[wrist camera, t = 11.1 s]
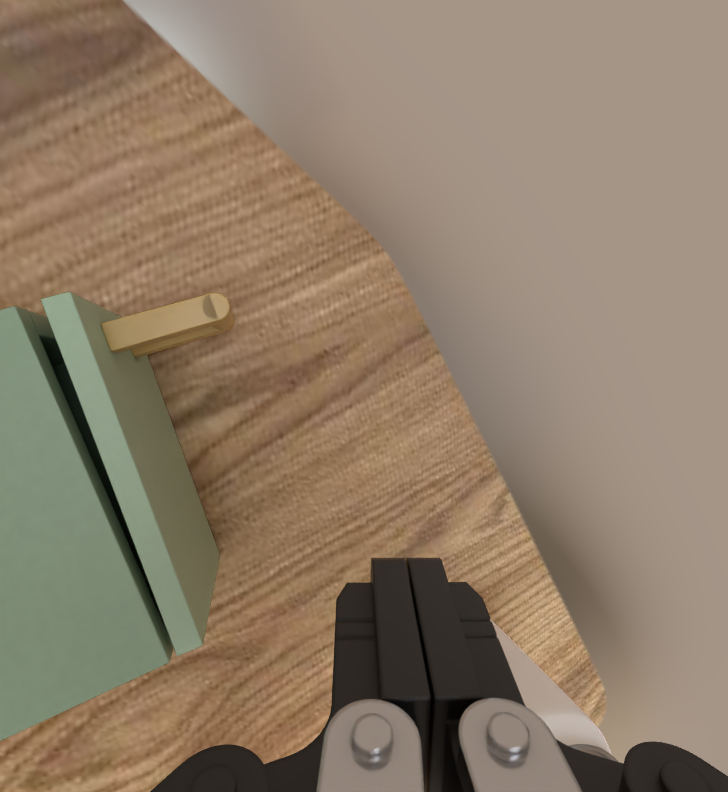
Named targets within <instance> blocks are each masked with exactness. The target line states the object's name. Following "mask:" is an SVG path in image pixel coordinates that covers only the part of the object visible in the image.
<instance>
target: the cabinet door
mask: <svg viewBox="0 0 728 792" xmlns="http://www.w3.org/2000/svg"><path fill="white" fill-rule="evenodd" d="M41 302H42V304H43V307H44V310H45V312H46V315H47V317H48V320H49V323H50V325H51V328H52V330H53V333H54V336H55V338H56V341H57V344H58V346H59V349H60V351H61V354H62V357H63V359H64V362H65V364H66V367H67V370H68V372H69V375H70V378H71V380H72V383H73V385H74V388H75V391H76V393H77V396H78V398H79V401H80V404H81V406H82V409H83V412H84V414H85V417H86V419H87V422H88V425H89V427H90V430H91V432H92V435H93V438H94V440H95V443H96V445H97V448H98V451H99V453H100V456H101V459H102V461H103V464H104V466H105V469H106V472H107V474H108V477H109V479H110V482H111V485H112V487H113V490H114V493H115V495H116V498H117V500H118V503H119V506H120V508H121V511H122V513H123V516H124V519H125V521H126V524H127V527H128V529H129V532H130V534H131V537H132V540H133V542H134V545H135V547H136V550H137V553H138V555H139V558H140V560H141V563H142V566H143V568H144V571H145V574H146V576H147V579H148V581H149V584H150V587H151V589H152V592H153V594H154V597H155V600H156V602H157V605H158V608H159V610H160V613H161V615H162V618H163V621H164V623H165V626H166V628H167V631H168V634H169V636H170V639H171V642H172V644H173V647H174V649H175V652H176V655H177V656H179V655H182V654H184V653H186V652H189V651H191V650H193V649H196V648H198V647H200V646H202V645H203V641H204V636H205V631H206V626H207V621H208V616H209V610H210V605H211V600H212V595H213V590H214V585H215V580H216V574H217V569H218V564H219V559H220V553H219V551H218V548H217V545H216V542H215V540H214V537H213V534H212V532H211V529H210V526H209V523H208V521H207V518H206V515H205V512H204V510H203V507H202V504H201V501H200V499H199V496H198V493H197V490H196V488H195V485H194V482H193V479H192V477H191V474H190V471H189V468H188V466H187V463H186V460H185V457H184V455H183V452H182V449H181V446H180V444H179V441H178V438H177V435H176V433H175V430H174V427H173V424H172V422H171V419H170V416H169V413H168V411H167V408H166V405H165V402H164V400H163V397H162V394H161V391H160V389H159V386H158V383H157V380H156V378H155V375H154V372H153V369H152V367H151V364H150V361H149V358H148V356H147V355H149V354H152V353H156V352H159V351H163V350H166V349H169V348H173V347H176V346H180V345H183V344H186V343H190V342H193V341H197V340H200V339H203V338H207V337H210V336H213V335H217V334H220V333H224V332H227V331H229V330H231V329H232V327H233V326H234V322H235V320H234V316H233V313H232V310H231V307H230V303H229V301H228V299H227V298H226V297H225V296H224V295H222V294H220V293H216V292H214V293H209V294H205V295H201V296H198V297H194V298H191V299H187V300H183V301H180V302H176V303H172V304H169V305H165V306H162V307H158V308H154V309H151V310H147V311H144V312H140V313H136V314H133V315H129V316H126V317H121V316H119V315H117V314H115V313H113V312H111V311H109V310H107V309H105V308H103V307H100V306H98V305H96V304H94V303H92V302H90V301H88V300H86V299H84V298H82V297H80V296H78V295H76V294H73V293H71V292H66V293H62V294H58V295H55V296H51V297H47V298H43V299H41Z"/></svg>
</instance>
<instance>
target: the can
mask: <svg viewBox="0 0 728 792" xmlns="http://www.w3.org/2000/svg"><path fill="white" fill-rule="evenodd" d="M490 621H492V620H491V619H490ZM492 624H493V626H494V629H495V631H496V634H497V638H498V639H499V641H500V644H501V646H502V649H503V651H504V654H505V656H506V659H507V661H508V664H509V666H510V669H511V671H512V674H513V676H514V679H515V681H516V684H517V686H518V689H519V691H520V694H521V696H522V699H523V701H524V704H525V706H526V707H527V708H528V709H530V710H531V711H533V712H534V713H535V714H537V715H538V716H539V717H540V718H541V719H542V720H543V721H544V722H545V723H546V725H547V726H548V727H549V729H550V730H551V732H552V733H553V735H554V737H555V739H557V740H559V741H560V742H562V743H563V744H565V745H568V746H570V747H572V748H574V749H577V750H580V751H582V752H586V753H589V754H592V755H596V756H599V757H603V758H606V759H609V760H613V761H616V762H618V761H617V760H616V759H615V758H614V757H613V756H612V754H611V751H610V748H609V746H608V744H607V742H606V740H605V738H604V736H603V734H602V733H601V731H600V730H599V729H598V728H597V726H596V725H595V724H594V723H593V722H592V721H591V720H590V719H589V717H588V716H587V715H586V714H585V713H584V712H583V711H582V710H581V709H580V708H579V707H578V706H577V705H576V704H575V703H574V702H573V701H572V700H571V699H570V698H569V697H568V696H567V695H566V694H565V693H564V692H563V691H562V690H561V689H560V688H559V687H558V686H557V685H556V684H555V683H554V682H553V681H552V680H551V679H550V678H549V677H548V676H547V675H546V674H545V673H544V672H543V671H542V670H541V669H540V668H539V667H538V666H537V665H536V664H535V663H534V662H533V661H532V660H531V659H530V658H529V657H528V656H527V655H526V654H525V653H524V652H523V651H522V650H521V649H520V648H519V647H518V646H517V645H516V644H515V643H514V642H513V641H512V640H511V639H510V638H509V637H508V636H507V635H506V634H505V633H504V632H503V631H502V630H501V629H500V628H499V627H498V626H497V625H496V624H495V623H494V622H493V621H492Z"/></svg>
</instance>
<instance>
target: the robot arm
mask: <svg viewBox="0 0 728 792" xmlns="http://www.w3.org/2000/svg"><path fill="white" fill-rule="evenodd" d="M150 792H728V776H726V775H725V774H723V773H722V772H720V771H719V770H717V769H716V768H714V767H713V766H711V765H710V764H708V763H707V762H705V761H704V760H702V759H701V758H699V757H697V756H696V755H694V754H692V753H690V752H688V751H686V750H684V749H682V748H679V747H677V746H674V745H670V744H666V743H662V742H644V743H640V744H638V745H636V746H634V747H632V748H631V749H630V750H629V752H628V753H627V755H626V757H625V761H624V764H623V763H619V762H616V761H613V760H609V759H606V758H603V757H599V756H596V755H592V754H589V753H586V752H582V751H580V750H577V749H574V748H572V747H570V746H568V745H565V744H563V743H562V742H560V741H559V740H557V739H555V737H554V735H553V733H552V732H551V730H550V729H549V727H548V726H547V725H546V723H545V722H544V721H543V720H542V719H541V718H540V717H539V716H538V715H537V714H535V713H534V712H533V711H531V710H530V709H528V708H527V707H526V706H525V704H524V701H523V699H522V696H521V694H520V691H519V689H518V686H517V684H516V681H515V679H514V676H513V674H512V671H511V669H510V666H509V664H508V661H507V659H506V656H505V654H504V651H503V649H502V646H501V644H500V641H499V639H498V638H497V634H496V631H495V629H494V626H493V624H492V621H490V616H489V614H488V611H487V608H486V606H485V603H484V601H483V598H482V597H481V596H480V595H479V594H478V593H477V592H476V591H475V590H474V589H473V588H472V587H471V586H470V585H469V584H468V583H467V582H448V580H447V576H446V573H445V570H444V567H443V564H442V561H441V559H440V558H407V559H406V562H405V558H371V581H370V583H347V584H346V585H345V587H344V588H343V590H342V592H341V593H340V595H339V596H338V598H337V601H336V623H335V644H334V666H333V687H332V706H331V713H330V716H329V719H328V722H327V724H326V726H325V728H324V729H323V730H322V732H321V733H320V735H319V736H318V737H317V738H316V739H315V740H314V741H313V742H312V743H310V744H309V745H308V746H307V747H305V748H304V749H302V750H300V751H299V752H296V753H294V754H292V755H290V756H287V757H284V758H281V759H278V760H275V761H273V762H270V763H267V764H263V763H262V761H261V760H260V759H259V757H258V756H257V755H256V754H254V753H253V752H252V751H250V750H248V749H246V748H244V747H241V746H236V745H219V746H214V747H210V748H207V749H205V750H202V751H200V752H198V753H196V754H195V755H193V756H191V757H190V758H188V759H187V760H186V761H185V762H183V763H182V764H181V765H180V766H179V767H177V768H176V769H175V770H174V771H173V772H172V773H171V774H170V775H168V776H167V777H166V778H165V779H164V780H163V781H162V782H161V783H159V784H158V785H157V786H156V787H155V788H154V789H153V790H152V791H150Z"/></svg>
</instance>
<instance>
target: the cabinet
mask: <svg viewBox="0 0 728 792" xmlns="http://www.w3.org/2000/svg"><path fill="white" fill-rule="evenodd" d="M172 652H173V644H172V642H171V639H170V636H169V634H168V631H167V628H166V626H165V623H164V621H163V618H162V615H161V613H160V610H159V608H158V605H157V602H156V600H155V597H154V594H153V592H152V589H151V587H150V584H149V581H148V579H147V576H146V574H145V571H144V568H143V566H142V563H141V560H140V558H139V555H138V553H137V550H136V547H135V545H134V542H133V540H132V537H131V534H130V532H129V529H128V527H127V524H126V521H125V519H124V516H123V513H122V511H121V508H120V506H119V503H118V500H117V498H116V495H115V493H114V490H113V487H112V485H111V482H110V479H109V477H108V474H107V472H106V469H105V466H104V464H103V461H102V459H101V456H100V453H99V451H98V448H97V445H96V443H95V440H94V438H93V435H92V432H91V430H90V427H89V425H88V422H87V419H86V417H85V414H84V412H83V409H82V406H81V404H80V401H79V398H78V396H77V393H76V391H75V388H74V385H73V383H72V380H71V378H70V375H69V372H68V370H67V367H66V364H65V362H64V359H63V357H62V354H61V351H60V349H59V346H58V344H57V341H56V338H55V336H54V333H53V330H52V328H51V325H50V323H49V320H48V317H47V316H44V315H41V314H37V313H34V312H31V311H28V310H26V309H22V308H19V307H16V306H12V307H9V308H6V309H2V310H0V741H1V740H3V739H6V738H8V737H10V736H12V735H14V734H16V733H19V732H21V731H23V730H25V729H27V728H29V727H31V726H34V725H36V724H38V723H40V722H42V721H44V720H47V719H49V718H51V717H53V716H55V715H57V714H59V713H62V712H64V711H66V710H68V709H70V708H72V707H75V706H77V705H79V704H81V703H83V702H85V701H87V700H90V699H92V698H94V697H96V696H98V695H100V694H103V693H105V692H107V691H109V690H111V689H113V688H115V687H118V686H120V685H122V684H124V683H126V682H128V681H131V680H133V679H135V678H137V677H139V676H141V675H143V674H146V673H148V672H150V671H152V670H154V669H156V668H159V667H161V666H163V665H165V664H167V663H169V662H170V659H171V655H172Z"/></svg>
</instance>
